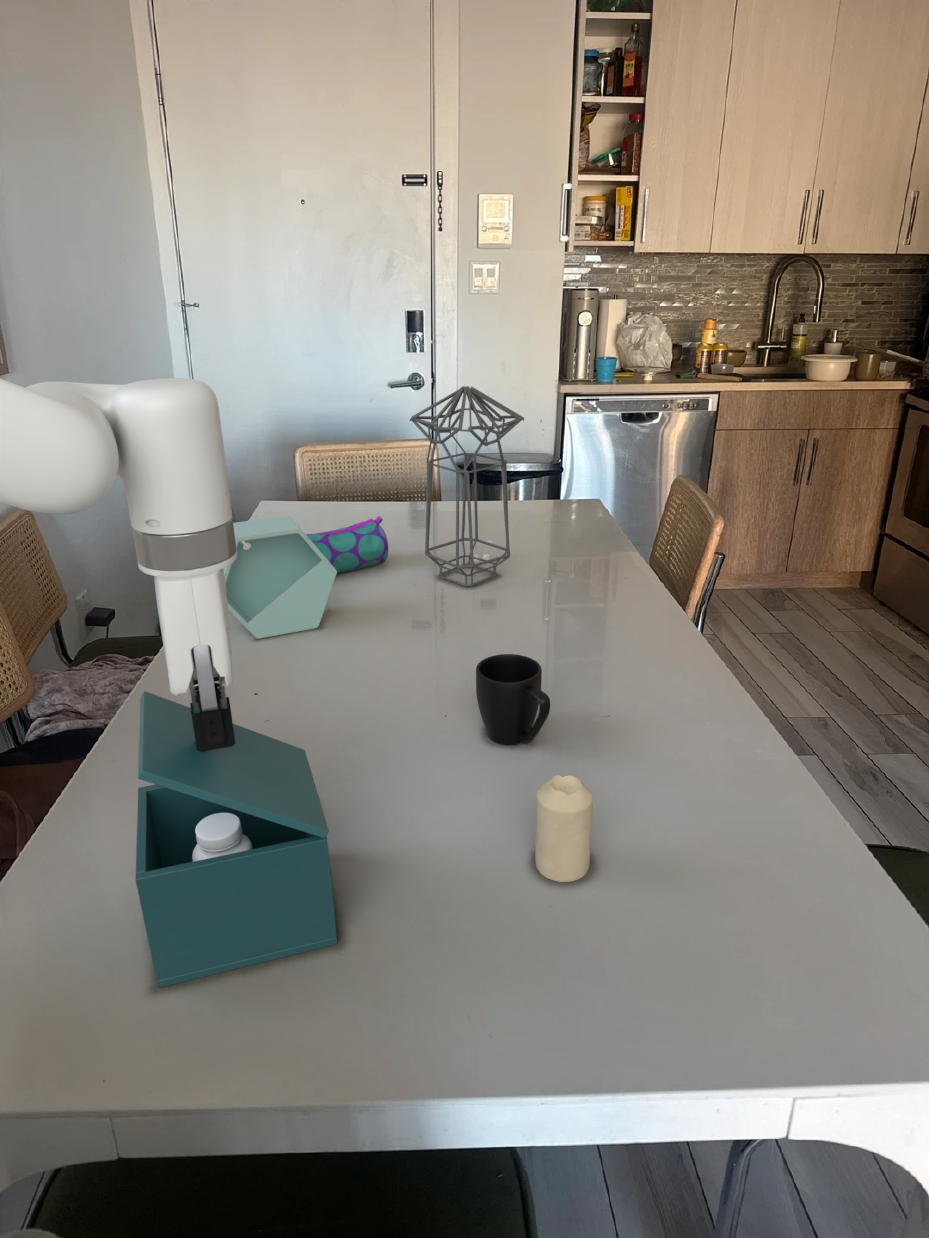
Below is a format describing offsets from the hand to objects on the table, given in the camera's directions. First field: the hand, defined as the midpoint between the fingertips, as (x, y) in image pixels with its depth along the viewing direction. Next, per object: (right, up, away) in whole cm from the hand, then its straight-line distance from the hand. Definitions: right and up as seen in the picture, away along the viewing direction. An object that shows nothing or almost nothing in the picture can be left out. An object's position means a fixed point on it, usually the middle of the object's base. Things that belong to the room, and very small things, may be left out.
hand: (216, 743), depth 75 cm
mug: (+28, -5, +35) cm, 46 cm away
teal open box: (0, -17, +8) cm, 19 cm away
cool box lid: (+1, -2, +1) cm, 3 cm away
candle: (+32, -14, +14) cm, 37 cm away
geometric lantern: (+22, +19, +89) cm, 94 cm away
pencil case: (-4, +20, +92) cm, 94 cm away
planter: (-9, +10, +69) cm, 71 cm away
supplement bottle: (-1, -17, +7) cm, 18 cm away
